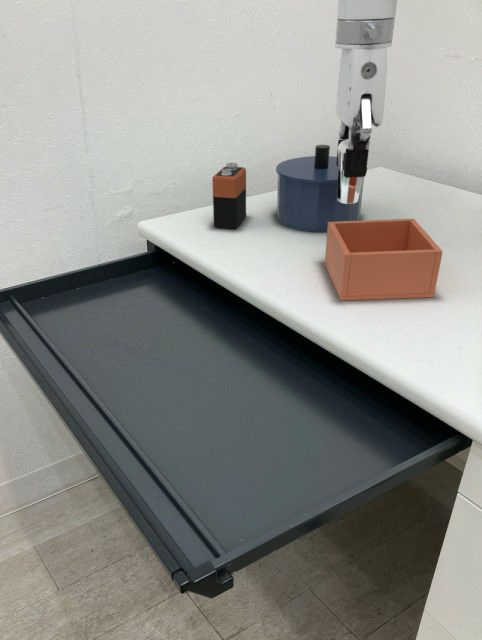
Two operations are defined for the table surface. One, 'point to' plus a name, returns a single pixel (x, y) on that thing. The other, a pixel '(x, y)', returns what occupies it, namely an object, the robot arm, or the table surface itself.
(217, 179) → the battery
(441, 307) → the table surface
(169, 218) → the table surface
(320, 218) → the pot
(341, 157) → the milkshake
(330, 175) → the pot lid
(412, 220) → the bin
